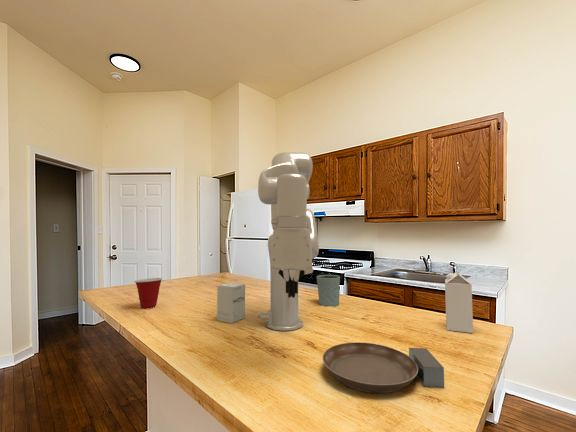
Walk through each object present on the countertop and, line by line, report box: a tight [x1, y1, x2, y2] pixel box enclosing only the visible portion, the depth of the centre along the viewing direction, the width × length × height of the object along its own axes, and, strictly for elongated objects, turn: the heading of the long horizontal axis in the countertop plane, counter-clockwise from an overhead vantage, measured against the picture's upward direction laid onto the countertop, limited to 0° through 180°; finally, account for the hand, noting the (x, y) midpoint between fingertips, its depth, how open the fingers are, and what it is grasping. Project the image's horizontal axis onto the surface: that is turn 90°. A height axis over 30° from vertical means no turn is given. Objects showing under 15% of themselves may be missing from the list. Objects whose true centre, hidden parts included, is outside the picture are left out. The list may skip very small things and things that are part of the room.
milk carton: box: [444, 268, 474, 334], centre depth 98 cm, size 7×7×19 cm
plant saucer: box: [322, 341, 418, 394], centre depth 68 cm, size 21×21×3 cm
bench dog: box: [408, 347, 445, 388], centre depth 66 cm, size 4×10×4 cm, turn 174°
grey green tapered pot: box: [316, 274, 341, 307], centre depth 130 cm, size 10×10×12 cm
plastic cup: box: [134, 277, 163, 310], centre depth 127 cm, size 11×11×12 cm
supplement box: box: [216, 282, 246, 324], centre depth 109 cm, size 7×7×13 cm
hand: (291, 295), depth 75 cm, fingers closed
